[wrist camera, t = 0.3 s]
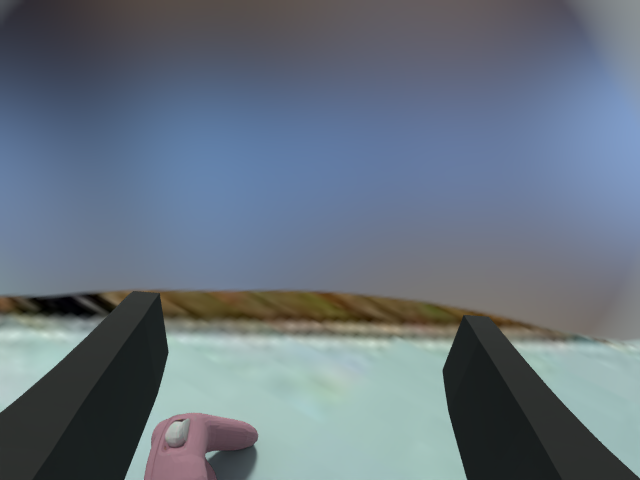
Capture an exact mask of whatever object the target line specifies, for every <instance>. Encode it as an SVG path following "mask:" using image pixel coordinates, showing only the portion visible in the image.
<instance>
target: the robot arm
mask: <svg viewBox="0 0 640 480" xmlns="http://www.w3.org/2000/svg"><path fill="white" fill-rule="evenodd" d="M167 356H168V345H167V339H166V332H165V325H164V319H163V312H162V306H161V299H160V293H151V292H137V291H133V292H131V293H130V294H129V295H128V296H127V297H126V298H125V299H124V300H123V301H122V302H121V303H120V304H119V305H118V306H117V307H116V308H115V309H114V310H113V311H112V312H111V313H110V314H109V315H108V316H107V317H106V318H105V319H104V320H103V321H102V322H101V323H100V324H99V325H98V326H97V327H96V328H95V329H94V330H93V331H92V332H91V333H90V334H89V335H88V336H87V337H86V338H85V339H84V340H83V341H82V342H81V343H80V344H79V345H77V346H76V347H75V348H74V349H73V350H72V351H71V352H70V353H69V354H68V355H67V356H66V357H65V358H64V359H63V360H62V361H60V362H59V363H58V364H57V365H56V366H55V367H54V368H53V369H52V370H50V371H49V372H48V373H47V374H46V375H45V376H44V377H42V378H41V379H40V380H39V381H38V382H37V383H35V384H34V385H33V386H32V387H31V388H30V389H29V390H27V391H26V392H25V393H24V394H23V395H22V396H20V397H19V398H18V399H17V400H16V401H14V402H13V403H12V404H11V405H9V406H8V407H7V408H6V409H4V410H3V411H2V412H1V413H0V480H124V479H125V476H126V474H127V471H128V469H129V466H130V464H131V461H132V459H133V456H134V453H135V451H136V448H137V446H138V443H139V441H140V438H141V436H142V433H143V431H144V428H145V426H146V423H147V420H148V418H149V415H150V413H151V410H152V407H153V405H154V402H155V400H156V397H157V394H158V391H159V387H160V384H161V380H162V376H163V372H164V368H165V364H166V360H167ZM443 378H444V385H445V393H446V399H447V405H448V411H449V415H450V419H451V423H452V427H453V430H454V434H455V438H456V441H457V445H458V449H459V452H460V456H461V459H462V463H463V467H464V470H465V474H466V477H467V480H640V478H639V477H638V476H636V475H635V474H634V473H633V472H632V471H631V470H630V469H629V468H628V467H627V466H626V465H625V464H623V463H622V462H621V461H620V460H619V459H618V458H617V457H616V456H615V455H614V454H613V453H611V452H610V451H609V450H608V449H607V448H606V447H605V446H604V445H603V444H602V443H601V442H600V441H599V440H598V439H597V438H596V437H595V436H594V435H593V434H592V433H591V432H590V431H589V430H588V429H587V428H586V427H585V426H584V425H583V424H582V423H581V422H580V421H579V420H578V418H577V417H576V416H575V415H574V414H573V413H572V412H571V411H570V410H569V409H568V408H567V407H566V406H565V405H564V404H563V403H562V402H561V400H560V399H559V398H558V397H557V396H556V395H555V394H554V393H553V392H552V391H551V389H550V388H549V387H548V386H547V385H546V384H545V383H544V382H543V380H542V379H541V378H540V377H539V376H538V375H537V373H536V372H535V371H534V370H533V369H532V368H531V367H530V365H529V364H528V363H527V362H526V361H525V359H524V358H523V357H522V356H521V355H520V353H519V352H518V351H517V350H516V349H515V348H514V346H513V345H512V344H511V343H510V342H509V340H508V339H507V338H506V337H505V336H504V334H503V333H502V332H501V331H500V330H499V328H498V327H497V326H496V325H495V324H494V322H493V321H492V320H491V319H490V318H489V317H483V316H470V315H464V316H463V318H462V321H461V323H460V326H459V329H458V331H457V334H456V336H455V339H454V342H453V344H452V347H451V349H450V352H449V355H448V357H447V360H446V362H445V365H444V368H443Z"/></svg>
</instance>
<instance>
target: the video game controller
mask: <svg viewBox="0 0 640 480" xmlns="http://www.w3.org/2000/svg"><path fill="white" fill-rule="evenodd" d="M257 440H258V433H257V431H256V429H255V428H254V427H252V426H251V425H250V424H248V423H245V422H243V421H238V420H234V419H228V418H222V417H217V416H212V415H207V414H202V413H186V414H181V415H176V416H173V417H171V418H169V419H166V420H164V421H162V422H160V423H159V424H158V425H157V426H156V428H155V429H154V431H153V434H152V438H151V450H150V454H149V457H148V461H147V465H146V470H145V476H144V480H217V478H216V475H215V472H214V470H213V469H212V467H211V465H210V464H209V463H208V461H207V460H206V458H205V454H206V453H207V452H211V451H232V450H239V449H244V448H247V447H250V446H252V445H253V444H254V443H255V442H256V441H257Z"/></svg>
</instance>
